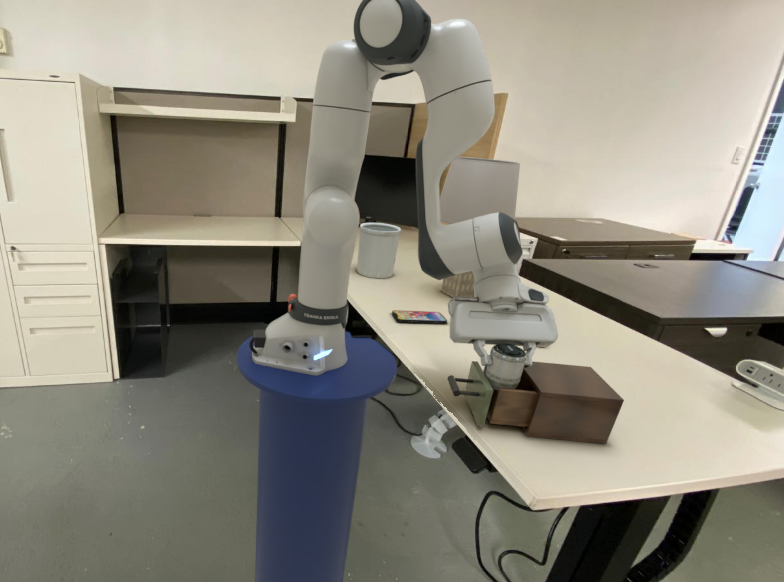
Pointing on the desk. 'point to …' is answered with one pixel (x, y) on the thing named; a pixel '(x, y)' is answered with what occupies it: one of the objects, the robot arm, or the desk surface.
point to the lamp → (476, 202)
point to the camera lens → (505, 366)
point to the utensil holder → (377, 249)
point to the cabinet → (571, 403)
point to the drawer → (496, 398)
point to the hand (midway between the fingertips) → (507, 366)
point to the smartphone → (419, 317)
